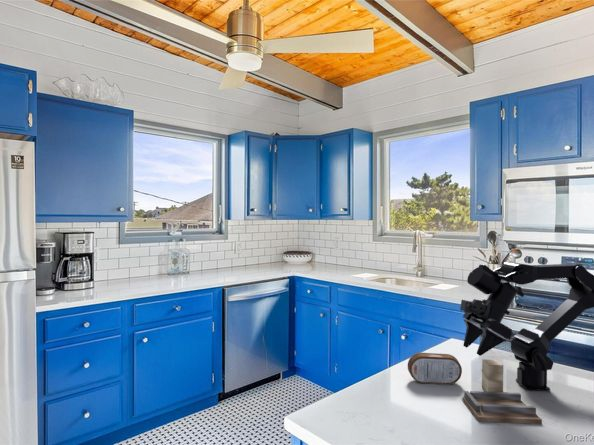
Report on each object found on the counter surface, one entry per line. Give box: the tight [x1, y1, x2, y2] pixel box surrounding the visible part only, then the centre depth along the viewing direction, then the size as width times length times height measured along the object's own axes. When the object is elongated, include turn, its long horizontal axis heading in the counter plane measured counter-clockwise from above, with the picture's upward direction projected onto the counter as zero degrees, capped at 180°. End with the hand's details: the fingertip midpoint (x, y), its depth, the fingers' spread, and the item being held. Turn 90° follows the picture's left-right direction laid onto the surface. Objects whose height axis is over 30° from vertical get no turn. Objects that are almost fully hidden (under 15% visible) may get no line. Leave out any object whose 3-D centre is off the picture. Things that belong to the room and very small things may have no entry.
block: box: [481, 358, 504, 392], centre depth 108 cm, size 4×4×8 cm
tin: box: [407, 352, 463, 385], centre depth 113 cm, size 15×3×8 cm, turn 84°
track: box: [461, 390, 543, 425], centre depth 96 cm, size 14×10×2 cm
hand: (471, 350), depth 108 cm, fingers open, 9 cm apart
